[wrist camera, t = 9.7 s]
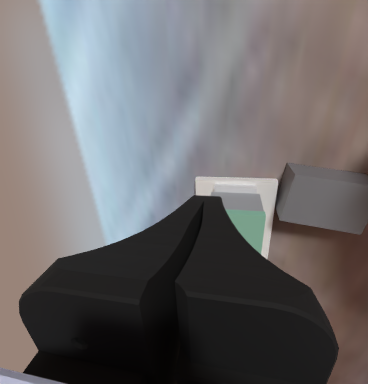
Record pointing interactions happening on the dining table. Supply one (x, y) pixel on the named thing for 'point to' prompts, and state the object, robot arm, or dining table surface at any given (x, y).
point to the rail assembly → (245, 205)
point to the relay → (323, 198)
